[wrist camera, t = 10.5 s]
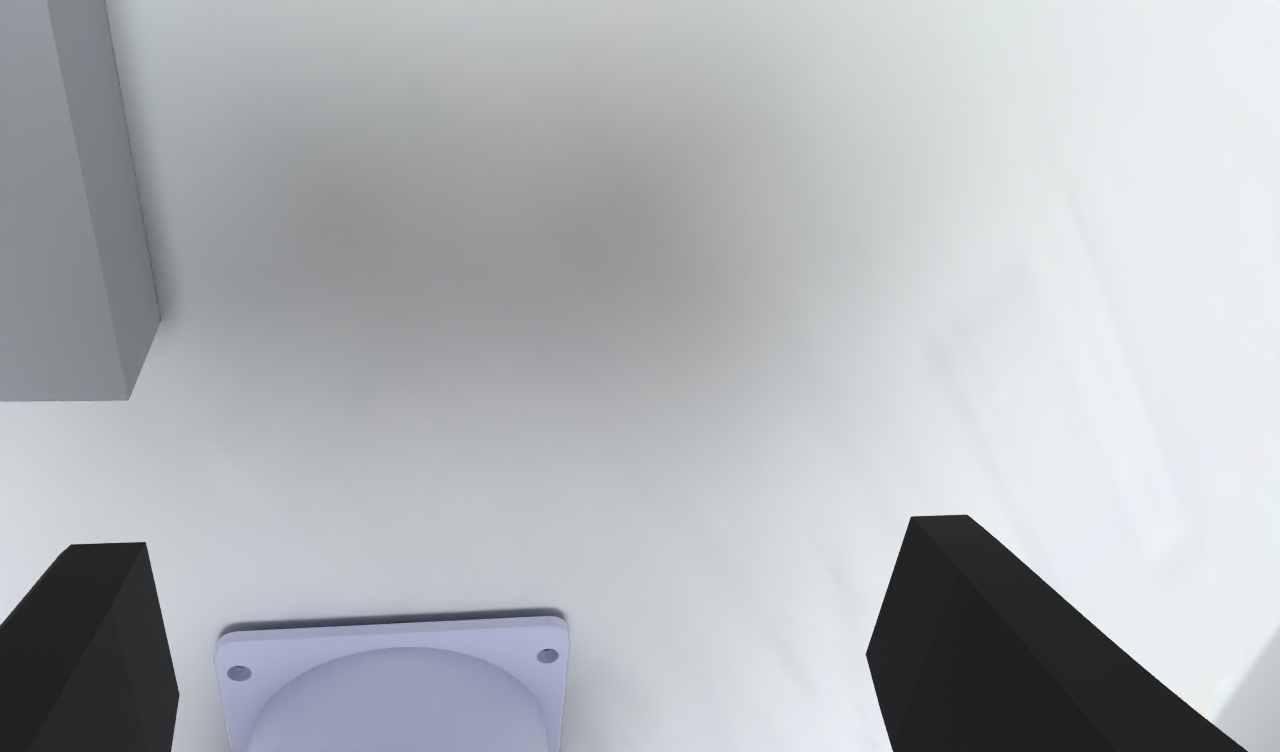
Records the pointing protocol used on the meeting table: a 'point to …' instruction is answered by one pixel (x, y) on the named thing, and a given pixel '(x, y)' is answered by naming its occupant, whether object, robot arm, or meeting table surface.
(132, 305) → the grey block
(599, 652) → the meeting table surface
